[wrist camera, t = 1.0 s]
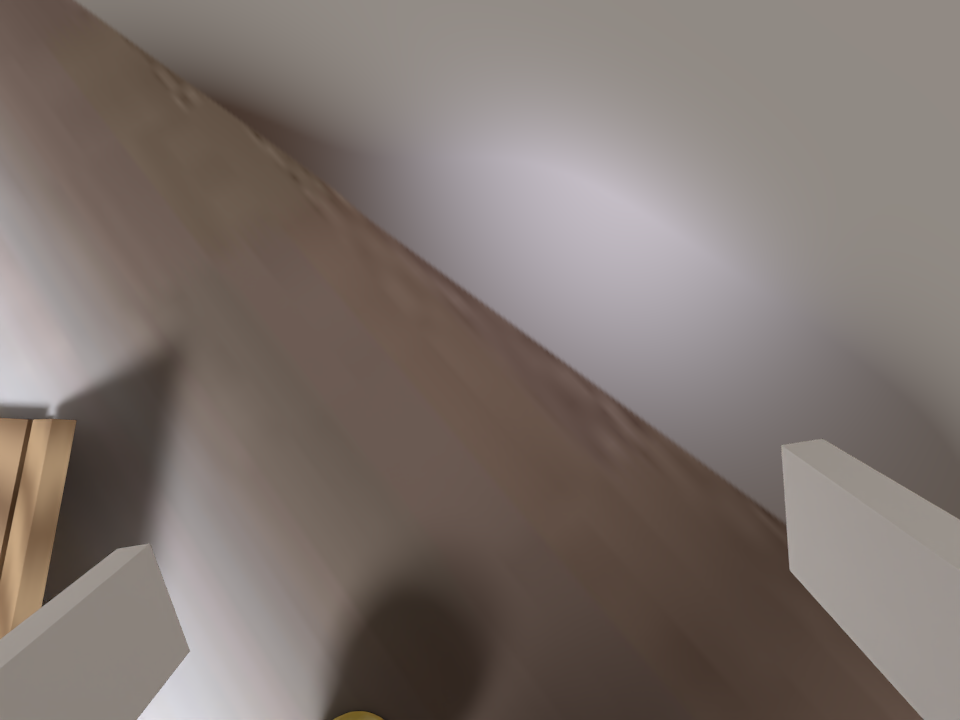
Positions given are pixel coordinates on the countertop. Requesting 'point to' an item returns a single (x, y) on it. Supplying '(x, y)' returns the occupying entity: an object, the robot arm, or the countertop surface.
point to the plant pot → (358, 716)
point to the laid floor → (11, 473)
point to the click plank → (34, 521)
